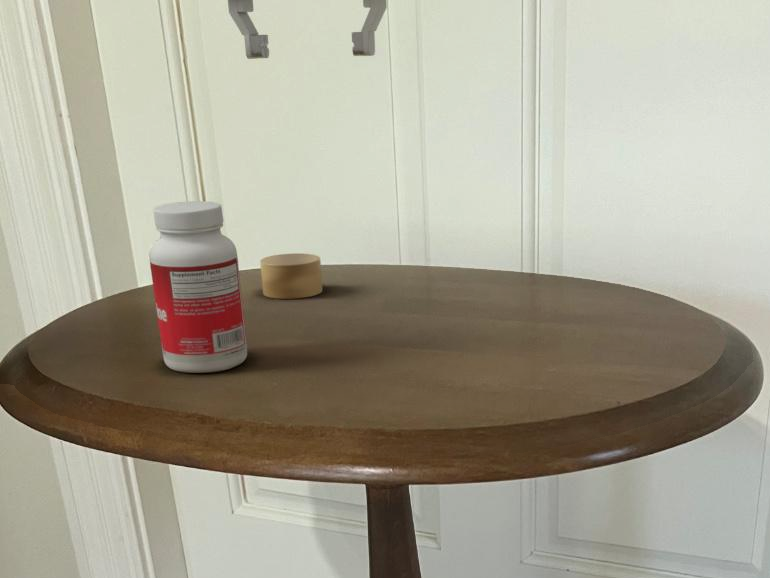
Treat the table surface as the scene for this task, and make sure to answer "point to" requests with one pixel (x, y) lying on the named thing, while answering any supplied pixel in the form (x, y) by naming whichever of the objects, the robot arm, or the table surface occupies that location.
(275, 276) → the squat tan drum
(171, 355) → the pill bottle
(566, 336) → the table surface
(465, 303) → the table surface
